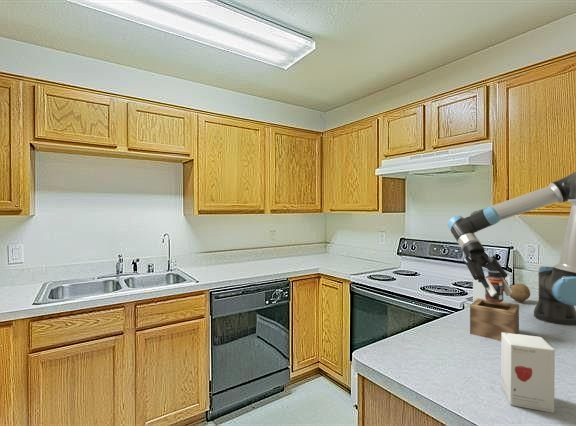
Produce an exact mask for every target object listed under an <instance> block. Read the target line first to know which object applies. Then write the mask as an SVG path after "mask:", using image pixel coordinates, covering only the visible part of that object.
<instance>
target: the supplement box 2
mask: <svg viewBox="0 0 576 426" xmlns="http://www.w3.org/2000/svg"><path fill="white" fill-rule="evenodd" d="M500 342H501V344H500V345H501V347H500V349H501V350H500V351H501V352H500V356H501V359H500V360H501V361H500V389H502V392H503V394H504V396H505V398H506V399H507V401H508V403H509V405H510V406H514V407H519V408H524V409H530V410H536V411H540V412H545V413H546V412H547V413H550V414H554V413H555V370H556V369H555V363H556V362H555V359H556V358H555V352H556V351H555V349H554V347H552V345H550V344H549V343H548V342H547V341H546V339H545V340H544V338H543V337H541V336H535V335H527V334H520V333H519V334H511V333H503V332H502V333H501V341H500Z"/></svg>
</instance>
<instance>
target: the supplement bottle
mask: <svg viewBox="0 0 576 426" xmlns="http://www.w3.org/2000/svg"><path fill="white" fill-rule="evenodd" d="M485 278H488V279H489V281H490V282H491V284H492V286H493V287H494V289H495V290H496V292H497V293H496V294H495V295H494V296H493V297H491V295H490V294H489V292H488V290H487V289H486V288H485V298H486V300H488V301H492V302H504V291H503V278H501V276H500V272H499V271H489V270H488V271H487V276H485Z"/></svg>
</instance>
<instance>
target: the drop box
mask: <svg viewBox="0 0 576 426" xmlns="http://www.w3.org/2000/svg"><path fill="white" fill-rule="evenodd" d="M502 332H503V333H511V334H520V303H513V302H512V303H511V302H505V301H502V302H492V301H488V300H486V299H480V298H478V299H477V300H475V301H474V302H473V301H472V303H471V304H470V305H469V335H473V336H477V337H484V338H486V339H491V340H496V341H500V342H501V333H502Z"/></svg>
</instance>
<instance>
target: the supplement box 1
mask: <svg viewBox="0 0 576 426" xmlns="http://www.w3.org/2000/svg"><path fill="white" fill-rule="evenodd" d="M478 298H480V299H486V298H485V287H484V286H483V284H482V283H481V282H478V280H474V279H473V280H472V303H473V302H474V301H475V300H477V299H478Z"/></svg>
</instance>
